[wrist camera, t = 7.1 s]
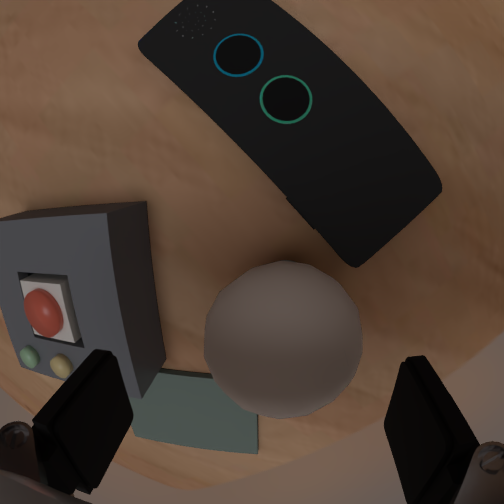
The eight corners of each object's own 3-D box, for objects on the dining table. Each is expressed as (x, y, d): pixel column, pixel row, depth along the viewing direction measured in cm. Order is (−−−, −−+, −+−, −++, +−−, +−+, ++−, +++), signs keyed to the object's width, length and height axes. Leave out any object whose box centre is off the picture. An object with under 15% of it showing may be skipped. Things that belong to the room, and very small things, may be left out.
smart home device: (225, -34, 14) (449, 186, 16) (229, -22, 15) (437, 184, 18) (130, 47, 16) (351, 274, 18) (141, 54, 18) (346, 265, 20)
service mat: (256, 376, 22) (256, 381, 22) (258, 449, 25) (257, 454, 24) (114, 361, 24) (111, 365, 23) (137, 432, 26) (135, 436, 26)
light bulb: (353, 298, 20) (399, 416, 9) (263, 336, 21) (241, 464, 11) (310, 207, 19) (338, 261, 8) (216, 254, 20) (144, 345, 10)
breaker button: (86, 268, 19) (54, 288, 16) (97, 322, 20) (69, 347, 17) (46, 266, 20) (14, 283, 16) (57, 316, 21) (29, 337, 17)
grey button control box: (146, 201, 20) (98, 215, 14) (166, 359, 23) (137, 406, 17) (25, 211, 21) (-25, 225, 16) (52, 339, 24) (15, 371, 19)
